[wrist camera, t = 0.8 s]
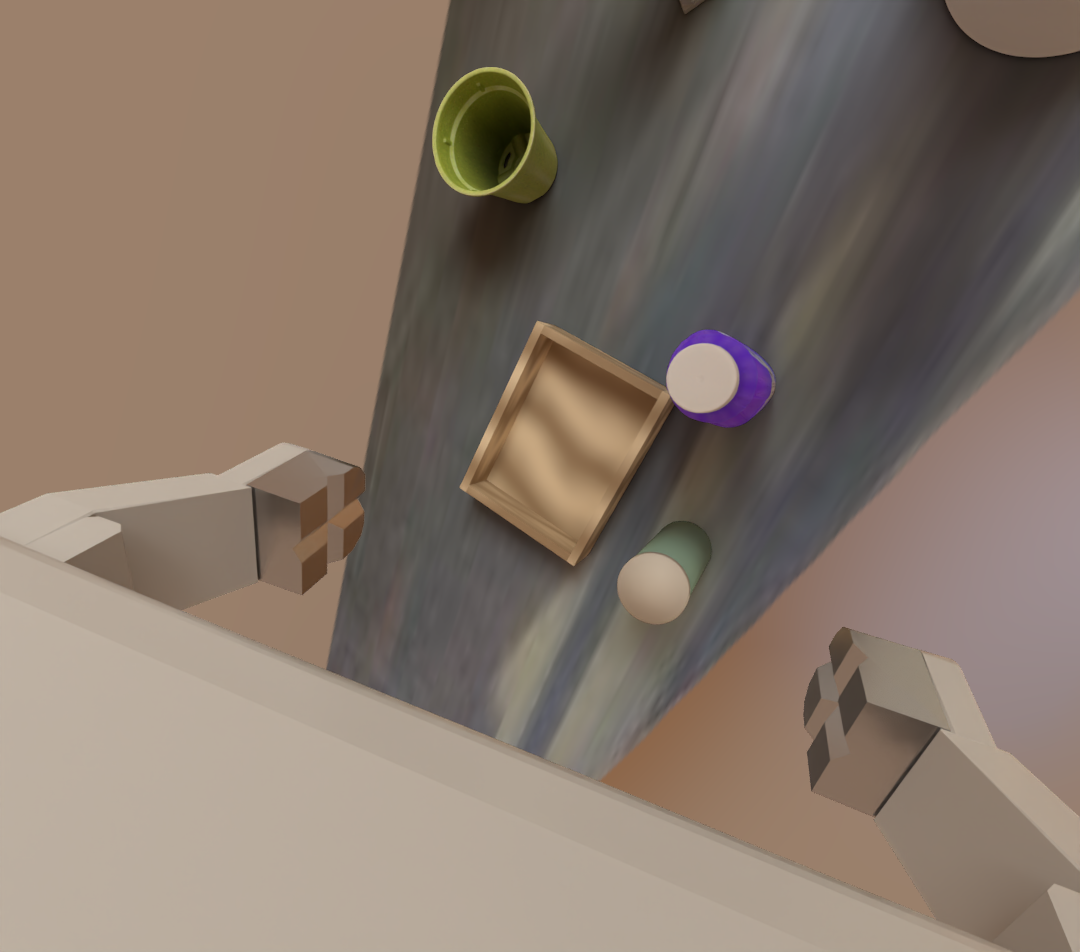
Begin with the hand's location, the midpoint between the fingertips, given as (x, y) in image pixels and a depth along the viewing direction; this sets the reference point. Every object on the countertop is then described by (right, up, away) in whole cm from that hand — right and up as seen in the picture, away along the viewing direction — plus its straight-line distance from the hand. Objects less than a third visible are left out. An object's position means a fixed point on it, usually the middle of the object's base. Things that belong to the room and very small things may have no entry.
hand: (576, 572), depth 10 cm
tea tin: (+12, -5, +44) cm, 46 cm away
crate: (+2, +5, +47) cm, 47 cm away
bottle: (+16, +10, +40) cm, 44 cm away
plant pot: (-2, +30, +45) cm, 54 cm away
